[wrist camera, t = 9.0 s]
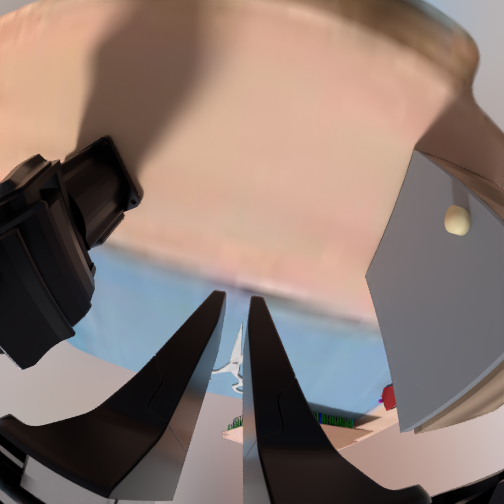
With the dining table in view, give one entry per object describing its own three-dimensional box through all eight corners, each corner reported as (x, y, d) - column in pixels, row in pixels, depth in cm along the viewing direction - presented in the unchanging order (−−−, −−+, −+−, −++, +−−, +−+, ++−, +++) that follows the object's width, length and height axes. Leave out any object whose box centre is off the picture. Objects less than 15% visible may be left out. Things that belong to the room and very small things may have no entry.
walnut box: (374, 275, 23) (414, 434, 11) (422, 151, 16) (564, 296, 4) (444, 284, 23) (494, 410, 11) (494, 182, 16) (598, 300, 4)
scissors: (186, 383, 40) (212, 315, 28) (187, 379, 40) (213, 309, 29) (248, 398, 41) (304, 340, 29) (248, 394, 42) (304, 334, 30)
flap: (357, 275, 23) (389, 434, 12) (405, 146, 16) (546, 288, 4) (372, 277, 23) (410, 430, 12) (422, 152, 16) (559, 291, 4)
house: (272, 396, 41) (269, 440, 35) (382, 420, 50) (385, 450, 44) (213, 421, 54) (207, 451, 47) (316, 443, 63) (316, 467, 56)
